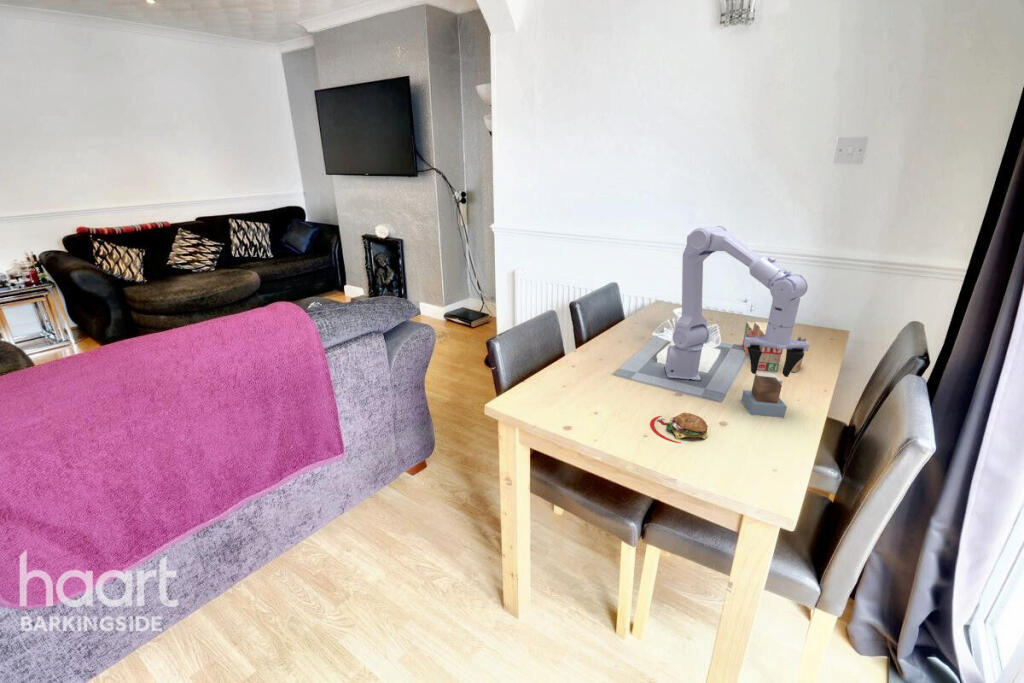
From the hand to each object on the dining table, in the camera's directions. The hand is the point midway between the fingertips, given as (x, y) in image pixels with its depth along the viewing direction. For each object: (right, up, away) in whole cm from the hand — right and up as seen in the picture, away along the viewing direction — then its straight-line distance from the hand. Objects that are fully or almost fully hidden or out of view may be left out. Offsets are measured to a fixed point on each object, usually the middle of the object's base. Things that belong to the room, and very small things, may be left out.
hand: (769, 373), depth 124 cm
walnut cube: (0, -6, +2) cm, 7 cm away
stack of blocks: (+16, +2, +36) cm, 39 cm away
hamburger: (-26, -13, -7) cm, 30 cm away
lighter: (+22, 0, +28) cm, 36 cm away
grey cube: (+5, -6, +12) cm, 14 cm away
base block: (0, -10, +3) cm, 10 cm away
